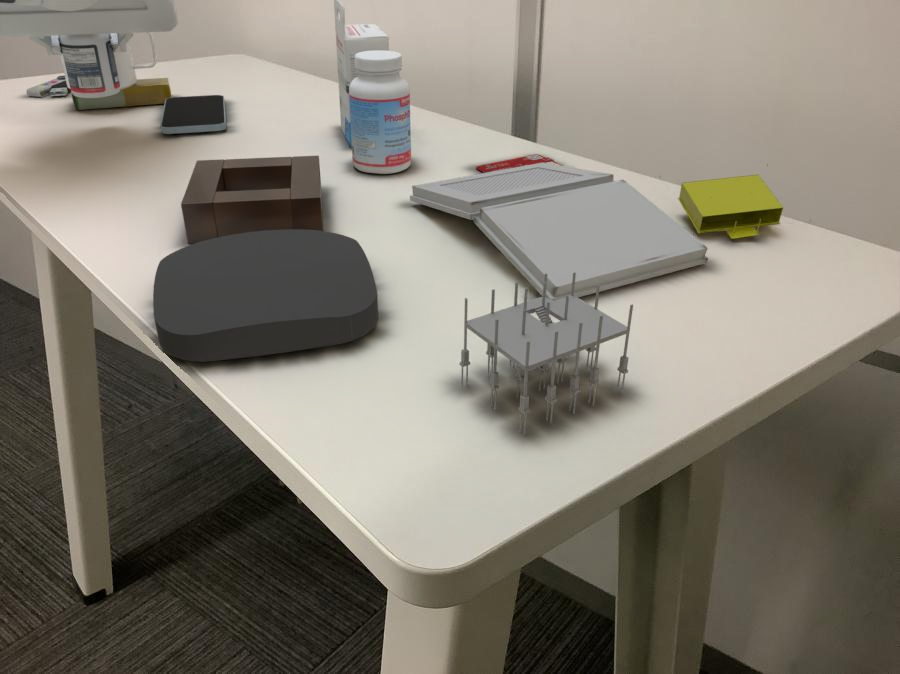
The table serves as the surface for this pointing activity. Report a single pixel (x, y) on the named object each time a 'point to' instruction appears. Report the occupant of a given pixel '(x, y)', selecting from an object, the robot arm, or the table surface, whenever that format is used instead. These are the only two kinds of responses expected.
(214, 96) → the smartphone
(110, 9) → the robot arm
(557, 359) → the building frame
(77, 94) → the pill bottle
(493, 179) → the gadget
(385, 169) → the pill bottle
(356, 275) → the media streaming box
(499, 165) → the card
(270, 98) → the table surface
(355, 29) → the ink box
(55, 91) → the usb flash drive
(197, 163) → the holder
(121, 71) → the mug
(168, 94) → the medication box
